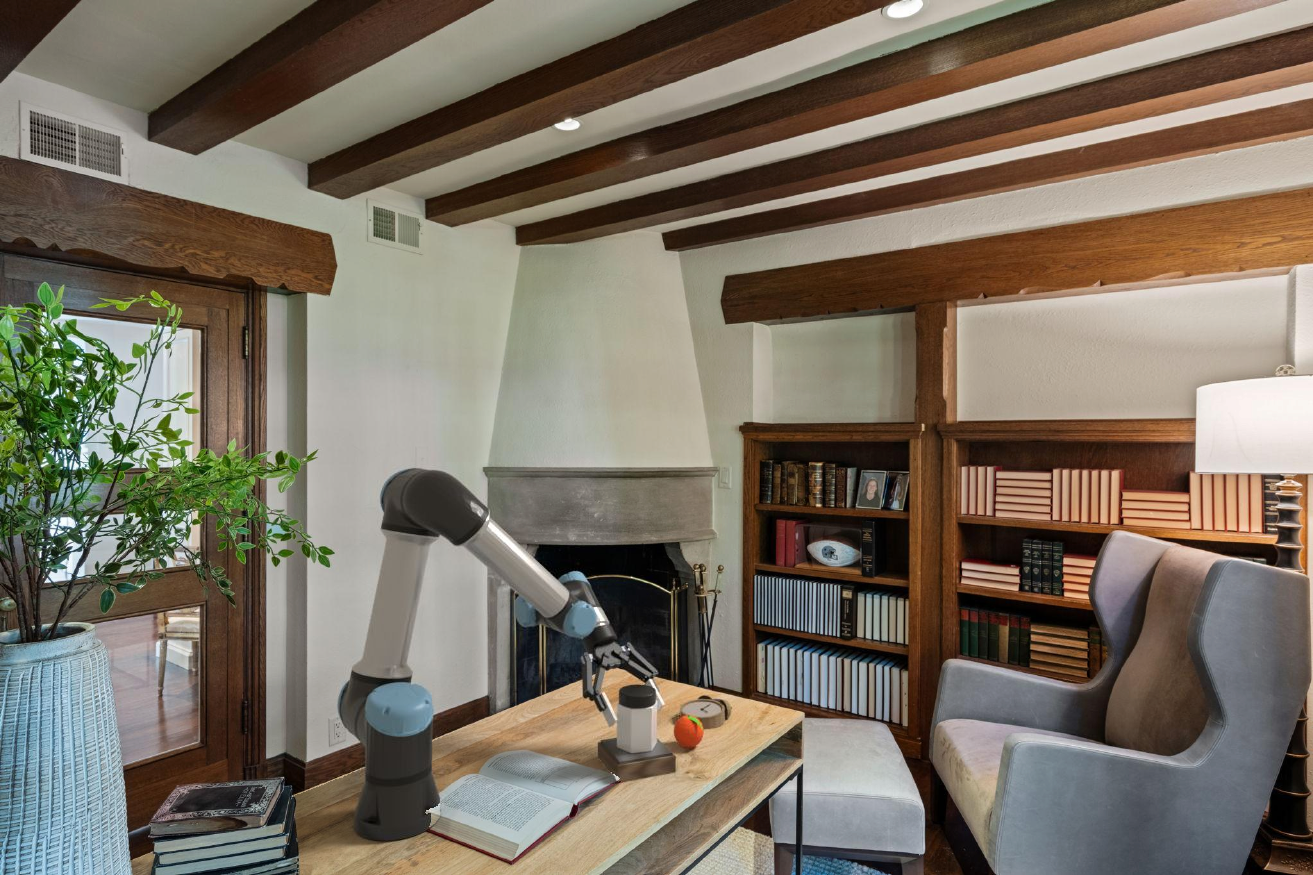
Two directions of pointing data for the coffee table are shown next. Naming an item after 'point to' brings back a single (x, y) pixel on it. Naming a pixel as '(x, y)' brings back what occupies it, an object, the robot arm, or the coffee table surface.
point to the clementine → (688, 731)
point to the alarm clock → (707, 711)
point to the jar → (637, 718)
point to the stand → (636, 760)
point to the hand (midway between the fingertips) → (638, 715)
